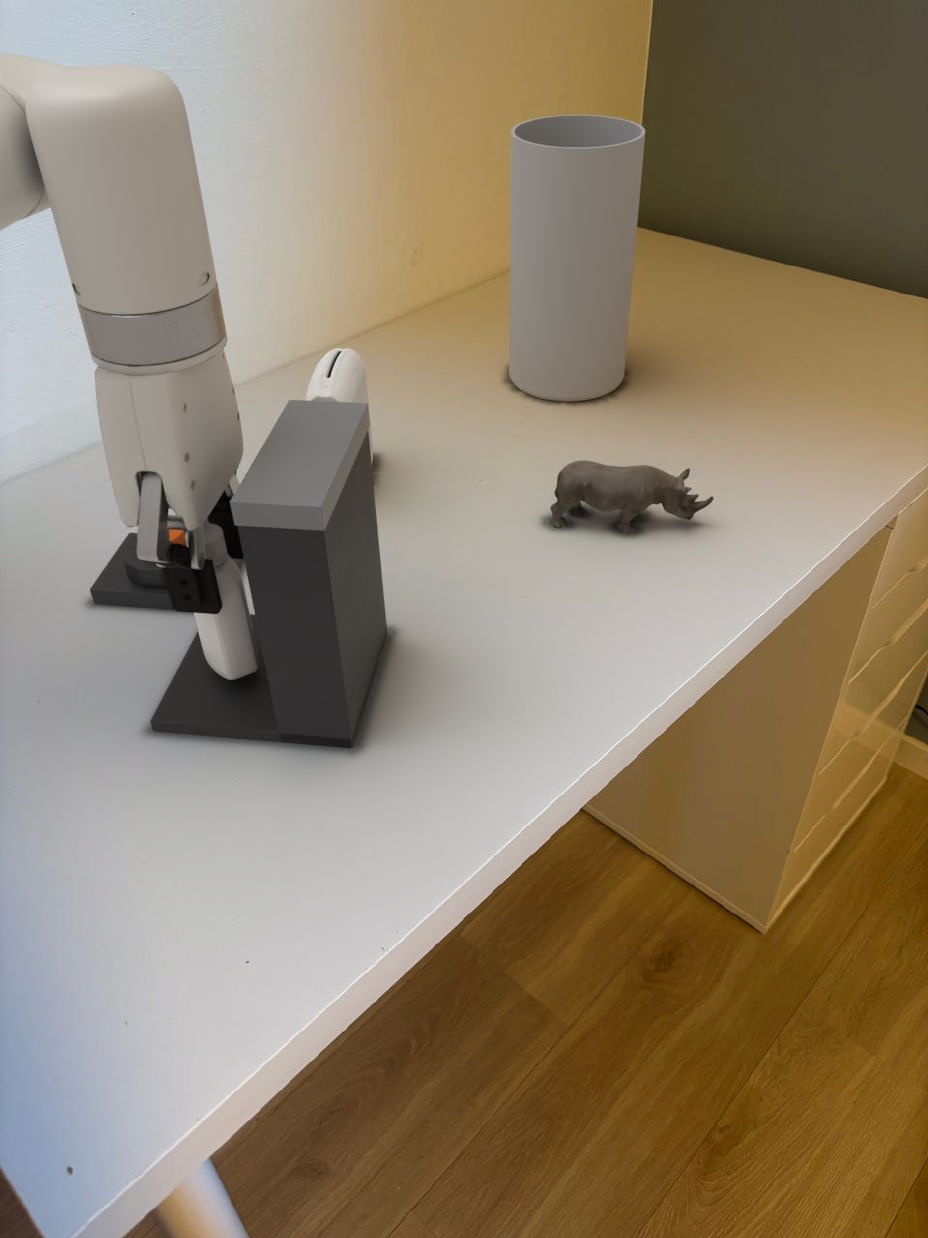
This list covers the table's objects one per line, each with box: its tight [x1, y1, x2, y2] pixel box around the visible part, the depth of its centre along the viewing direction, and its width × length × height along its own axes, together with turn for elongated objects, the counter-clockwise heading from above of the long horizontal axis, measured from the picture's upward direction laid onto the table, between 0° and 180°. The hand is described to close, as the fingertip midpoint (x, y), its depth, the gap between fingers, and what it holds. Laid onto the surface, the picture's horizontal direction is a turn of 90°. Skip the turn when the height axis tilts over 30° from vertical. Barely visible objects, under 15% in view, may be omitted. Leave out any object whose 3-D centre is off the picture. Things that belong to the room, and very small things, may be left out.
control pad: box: [89, 530, 244, 611], centre depth 81 cm, size 10×8×4 cm
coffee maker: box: [149, 399, 388, 749], centre depth 66 cm, size 14×12×19 cm
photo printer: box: [305, 347, 374, 464], centre depth 89 cm, size 10×4×12 cm, turn 175°
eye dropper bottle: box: [185, 519, 259, 680], centre depth 67 cm, size 4×6×12 cm
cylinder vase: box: [508, 114, 646, 403], centre depth 101 cm, size 12×12×25 cm
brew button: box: [136, 529, 187, 546], centre depth 79 cm, size 4×4×2 cm
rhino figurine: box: [548, 459, 715, 535], centre depth 85 cm, size 4×14×6 cm, turn 82°
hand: (213, 579), depth 66 cm, fingers closed on eye dropper bottle, 5 cm apart
